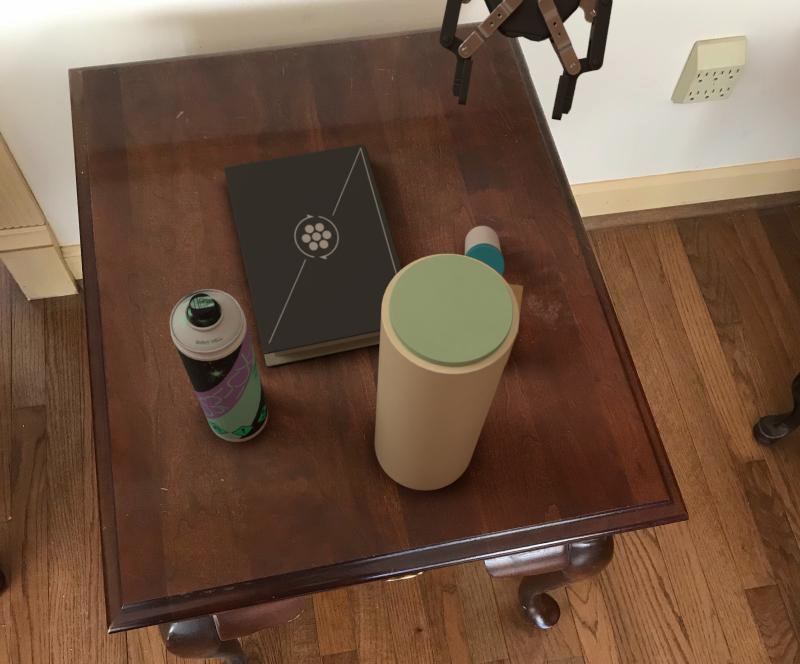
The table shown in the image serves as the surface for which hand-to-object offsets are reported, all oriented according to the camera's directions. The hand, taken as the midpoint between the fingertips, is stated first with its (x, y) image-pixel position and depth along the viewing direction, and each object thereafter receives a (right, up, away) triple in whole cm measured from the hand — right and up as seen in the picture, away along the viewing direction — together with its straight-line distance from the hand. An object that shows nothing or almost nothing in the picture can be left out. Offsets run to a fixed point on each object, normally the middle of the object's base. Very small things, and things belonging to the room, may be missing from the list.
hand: (509, 112), depth 75 cm
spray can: (-25, -27, +2) cm, 37 cm away
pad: (-7, -20, -20) cm, 29 cm away
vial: (-2, -12, +4) cm, 13 cm away
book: (-18, -12, +9) cm, 23 cm away
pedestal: (-8, -30, +1) cm, 31 cm away
